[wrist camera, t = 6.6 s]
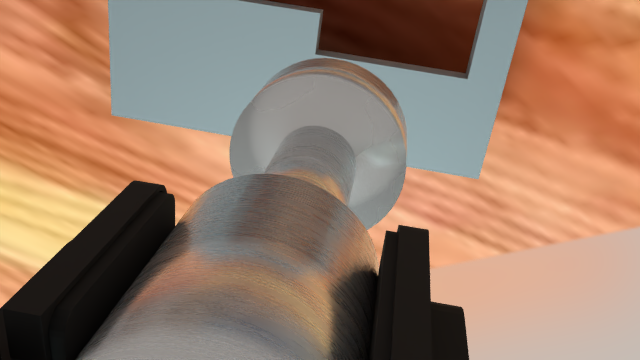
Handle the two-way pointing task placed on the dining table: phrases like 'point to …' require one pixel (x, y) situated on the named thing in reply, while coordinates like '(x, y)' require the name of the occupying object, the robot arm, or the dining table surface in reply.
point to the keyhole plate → (291, 47)
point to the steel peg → (276, 232)
